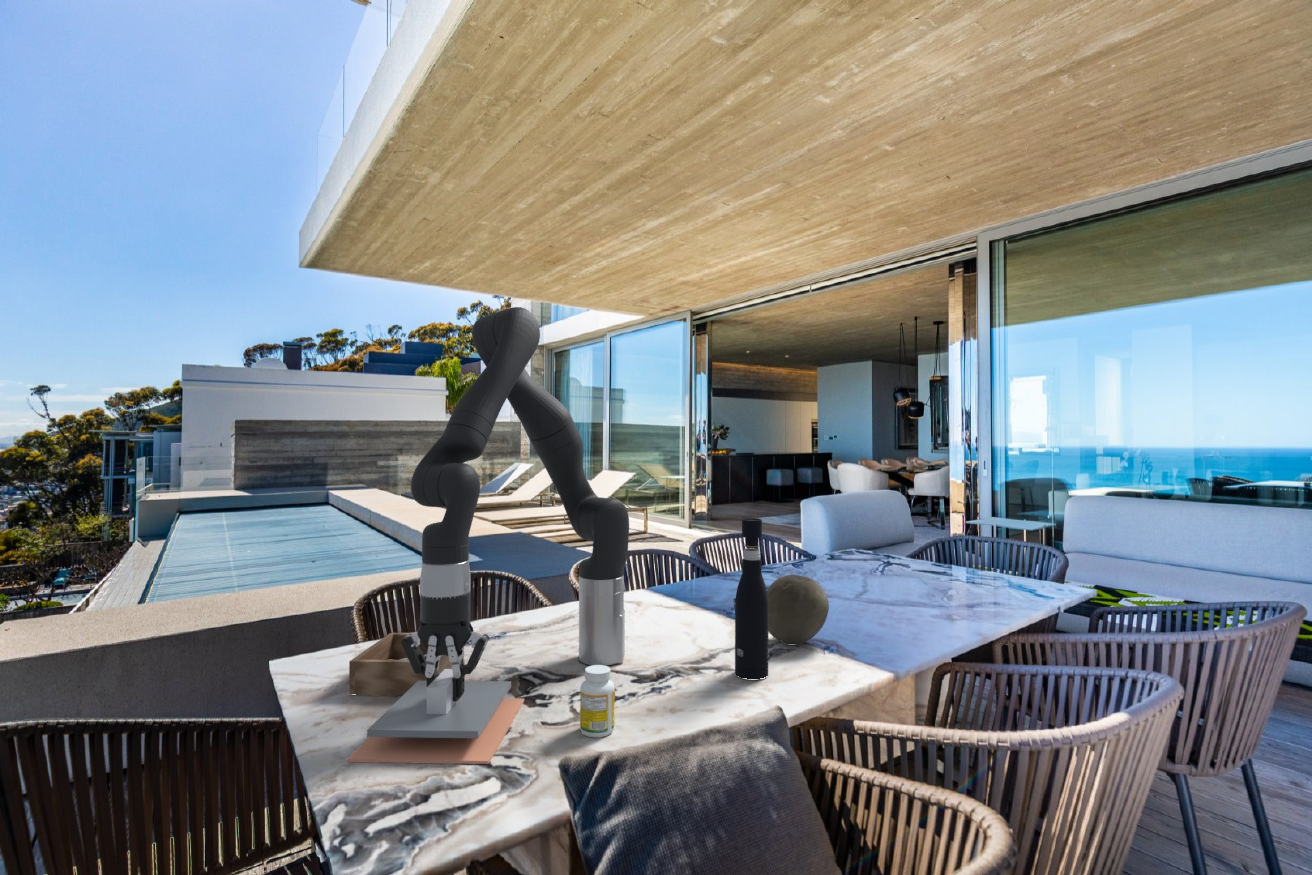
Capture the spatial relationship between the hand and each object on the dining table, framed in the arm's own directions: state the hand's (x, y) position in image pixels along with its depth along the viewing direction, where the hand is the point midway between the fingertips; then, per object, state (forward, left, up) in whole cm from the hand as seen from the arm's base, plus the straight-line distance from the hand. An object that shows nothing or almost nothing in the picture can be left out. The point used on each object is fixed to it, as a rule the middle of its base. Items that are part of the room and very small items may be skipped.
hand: (445, 698), depth 103 cm
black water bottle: (-51, -25, -5) cm, 57 cm away
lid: (0, 0, -3) cm, 3 cm away
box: (+14, -21, -5) cm, 26 cm away
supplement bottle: (-24, 0, -5) cm, 24 cm away
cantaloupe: (-63, -45, -5) cm, 78 cm away
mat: (0, 0, -5) cm, 5 cm away
